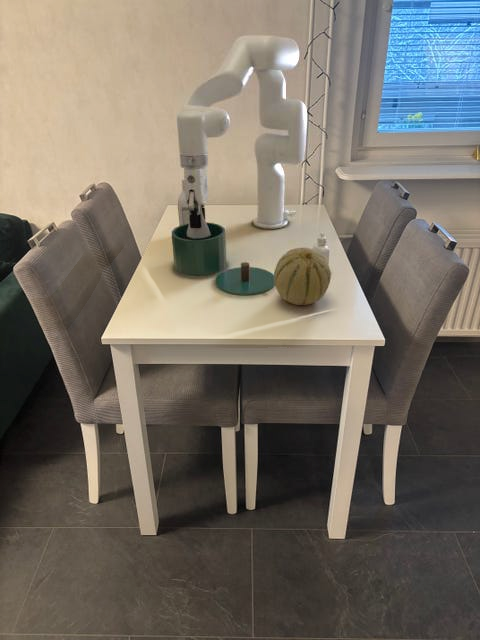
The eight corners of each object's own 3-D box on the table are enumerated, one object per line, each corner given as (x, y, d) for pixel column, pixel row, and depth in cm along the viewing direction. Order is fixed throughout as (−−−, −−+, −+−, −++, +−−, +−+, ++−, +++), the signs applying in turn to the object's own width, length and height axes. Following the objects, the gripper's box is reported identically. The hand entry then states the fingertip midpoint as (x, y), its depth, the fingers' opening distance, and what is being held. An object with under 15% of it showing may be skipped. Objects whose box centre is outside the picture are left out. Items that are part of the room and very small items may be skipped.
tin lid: (260, 266, 151) (260, 248, 148) (286, 290, 137) (287, 270, 134) (206, 276, 146) (205, 258, 143) (228, 302, 132) (227, 282, 129)
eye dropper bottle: (325, 267, 150) (328, 229, 144) (328, 275, 145) (331, 236, 139) (311, 267, 150) (313, 229, 144) (313, 275, 145) (315, 236, 139)
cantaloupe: (298, 283, 141) (300, 233, 133) (340, 301, 131) (345, 248, 124) (261, 301, 132) (261, 248, 124) (303, 321, 123) (306, 265, 115)
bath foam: (204, 236, 174) (200, 179, 164) (187, 241, 170) (183, 183, 160) (192, 231, 178) (188, 175, 168) (176, 236, 175) (171, 178, 164)
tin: (215, 253, 160) (214, 219, 155) (234, 272, 148) (233, 235, 142) (169, 262, 155) (165, 226, 150) (183, 282, 143) (180, 244, 137)
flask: (192, 241, 142) (189, 206, 137) (182, 233, 148) (179, 200, 143) (215, 236, 145) (213, 202, 140) (204, 229, 151) (203, 196, 146)
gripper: (201, 168, 128) (205, 235, 137) (212, 153, 142) (215, 215, 152) (172, 167, 129) (178, 234, 138) (187, 153, 143) (191, 214, 153)
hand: (197, 223), depth 145 cm, fingers closed on flask, 5 cm apart
